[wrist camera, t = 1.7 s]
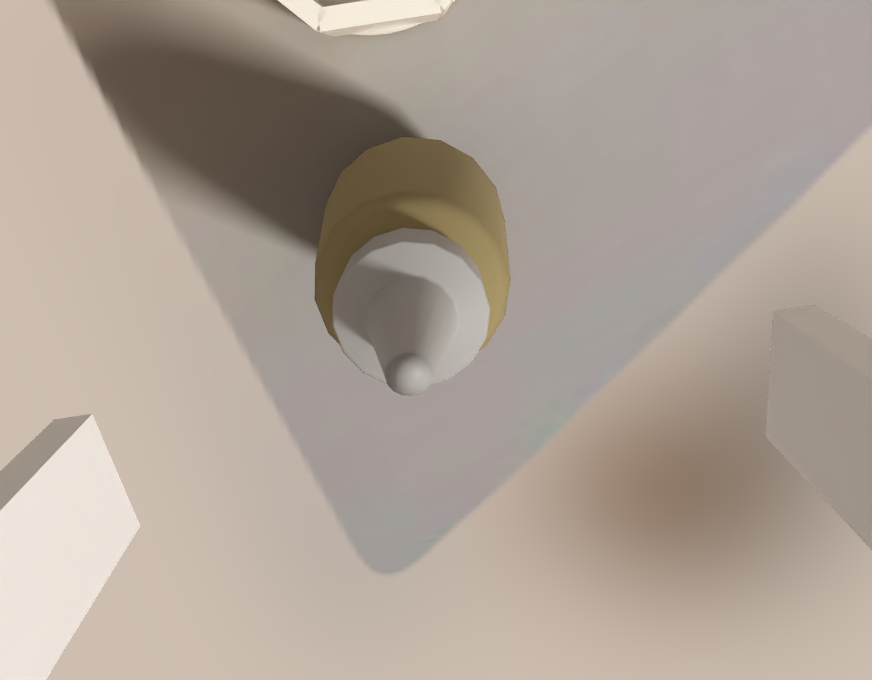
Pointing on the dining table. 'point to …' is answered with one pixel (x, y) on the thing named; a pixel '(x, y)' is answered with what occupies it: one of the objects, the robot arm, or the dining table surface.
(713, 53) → the dining table surface
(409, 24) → the crock
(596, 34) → the dining table surface
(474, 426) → the dining table surface
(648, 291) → the dining table surface
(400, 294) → the squeeze bottle
